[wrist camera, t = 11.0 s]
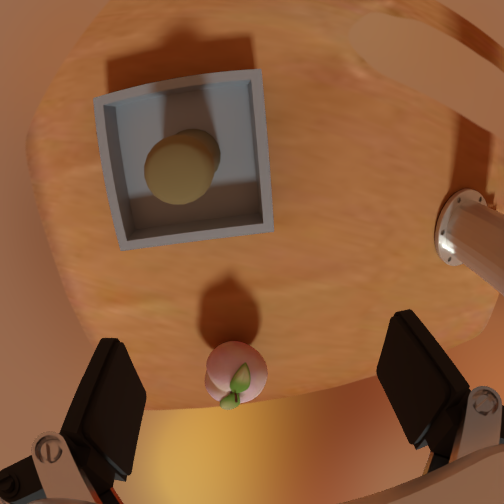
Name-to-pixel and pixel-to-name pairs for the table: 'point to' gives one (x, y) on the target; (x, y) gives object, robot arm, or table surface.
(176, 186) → the cork
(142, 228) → the box
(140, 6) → the table surface
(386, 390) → the robot arm
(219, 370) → the decorative fruit
